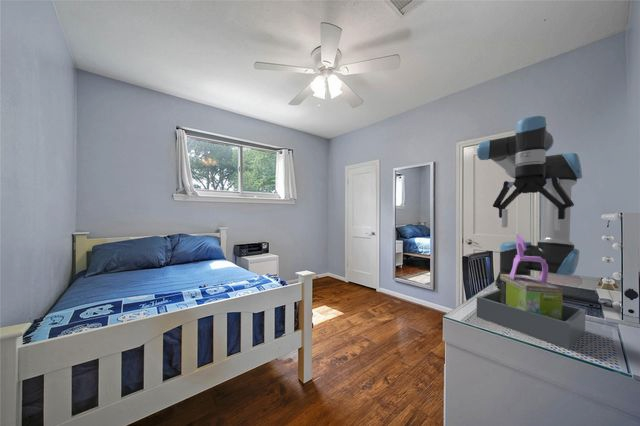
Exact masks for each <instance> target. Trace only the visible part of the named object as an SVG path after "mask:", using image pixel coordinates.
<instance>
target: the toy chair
mask: <svg viewBox="0 0 640 426" xmlns="http://www.w3.org/2000/svg"><path fill="white" fill-rule="evenodd" d="M515 236H516V240H517V241H515V242H516V247H517V254H518V255H516V257H515V258H514V261H513V267H512V270H511V273H510V276H511V278H512V279H515V274H516V269H517V266H518V264H519V262H521V261H534V262H541V264H542V272H541V274H540V276H539V278H538V279H540V280H542V281H543V282H544V283H547V282H548V275H549V273H548V265H547V263H546V260H545V259H542V258H541V257H537V256H524V255H523V253H524V251H526V250H527V248H526V245H525V242H526V241H525V239H524V237H523V236H522V235H521V234H519V233H517V234H515Z"/></svg>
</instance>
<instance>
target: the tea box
mask: <svg viewBox="0 0 640 426" xmlns="http://www.w3.org/2000/svg"><path fill="white" fill-rule="evenodd" d="M500 303H502V304H505V305H509V306H512V307H516V308H519V309H523V310H525V311H530V312H533V313H537V314H541V315H544V316H548V317H551V318H555V319H558V320H562V304H563V287H561V286H558V285H557V284H553V283H550V282H548V281H547V283H544V282H543V281H542V280H540V279H539V278H537V277H535V276H532V275H531V276H527V275H515V279H512V278H511V276H510V274H500Z"/></svg>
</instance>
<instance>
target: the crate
mask: <svg viewBox="0 0 640 426" xmlns="http://www.w3.org/2000/svg"><path fill="white" fill-rule="evenodd" d="M478 317H479V319H481V320H484V321H487V322H489V323H493V324H496V325H499V326H501V327H504V328H507V329H510V330H513V331H516V332H518V333H522V334H524V335H527V336H530V337H532V338H535V339H539V340H541V341H544V342H547V343H549V344H553V345H555V346H557V347H561V348H564V349H566V350H570V349H571V348H572V347H573V346H574V344H576V343H577V341H578V340H580V338H581V337H582V336H584V334H585V333H586V309H583V308H580V307H574V306H571V305H569V304H568V305H567V304H563V303H562V320H558V319H555V318H551V317H548V316H544V315H541V314H537V313H533V312H530V311H525V310H523V309H519V308H516V307H512V306H509V305H505V304H502V303H500V289H499V288H497V289H495V290H493V291H490V292H487V293H485V294H482V295H479V296H477V297H476V318H478Z"/></svg>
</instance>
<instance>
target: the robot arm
mask: <svg viewBox="0 0 640 426" xmlns="http://www.w3.org/2000/svg"><path fill="white" fill-rule="evenodd" d="M547 125H548V124H547V119H546V117H545V116H543V115H535V116H534V115H533V116H528V117H524V118H522V119H519V120H518V121H517V122H516V125H515V131H514V133H515V135H511V136H506V137H499V138H494V139H487V140H485V141H481V142H479V143H478V145H477V149H476V155H477V157H478V159H479V160H480V161H488V160H492V161H493V162H494V163H495V164H497V165H498V166H500V167H501V168H502V169H504V170H505V173H506V174H507V176H509V177H511V178H513V179H514V180H513V181H509V180H508V181H507V180H505V181H504V182H503V186H502V189H501V190H500V192H499V194H498V195H497V197H496V199H495V201H494V203H493V204H492V207H493V208H496V209H498V218H499V219H501V228H508V224H509V223H508V219H509V218H508V217H509V216H508V213H509V212H508V210H509V209H508V208H507V207H508V206H509V205H510V204H511V203H512V202H513V201H514V200H515V199H516V198H517V197H518V196H519V195H521V194H530V193H532V194H536V193H540V194H541V195H542V196H543V197H544V199H543V214H542V215H543V217H542V237H541V239H540V240H538V241H537V243H536V245H535V244H534V245H533V244H532V242H530V241H525V245H526V248H527V250H526V251H524V253H523V255H524V256H537V257H541V258H542V259H545V260H546V263H547V265H548V274H551V275H552V274H553V275H560V276H572V275H574V274H575V272H576V270H577V266H578V264H579V259H580V250H579V249H577V248H575V244H574V243H573V242H571V240H570V239H571V238H570V237H571V231H570V230H571V213H572V212H571V210H572V209H571V208H572V207H574V206H575V203H574V202H573V200H572V189H573V188H572V187H574V186H575V185H577V183H578V180H580V179H582V178H583V172H582V165H581V161H580V157H579V155H578V154H577V153H574V152H569V153H567V152H566V153H560V154H553V155H552V154H551V155H547V154H546V152H548V151H549V150H550V149H551V148H552V147H553V145H554V136H553V135H552V134H551V133H550V132H548V130H547ZM512 187H515V189H514V190H513V191H512V192H511V193H510V194H509V196H507V195H508V193H509V191H510V189H511V188H512ZM506 196H507V197H506ZM505 197H506V198H505ZM504 199H505V200H504ZM516 242H517V241H506V242H502V243H501V244H500V247H499V248H500V249H499V272H498V275H497V276H496V279H495V283H494V286H495V287H496V286H497V287H499V288H500V274H510V273H511V270H512V267H513V261H514V258H515V257H516V255H518V254H517V247H516ZM531 271H534V272H541V273H542V264H541V262H534V261H521V262H519V264H518V266H517V269H516V274H515V275H527V276H532V275H531V274H532V273H531ZM497 287H496V288H497ZM499 288H498V289H499Z"/></svg>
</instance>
